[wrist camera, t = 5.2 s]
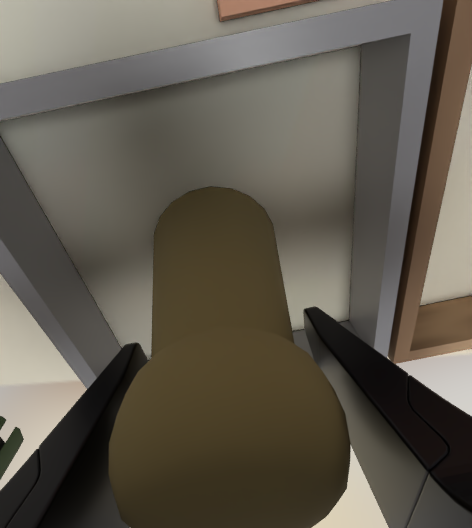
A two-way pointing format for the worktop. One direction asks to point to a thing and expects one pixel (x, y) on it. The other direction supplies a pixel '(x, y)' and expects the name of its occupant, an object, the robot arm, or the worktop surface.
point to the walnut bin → (435, 201)
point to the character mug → (9, 447)
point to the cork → (225, 386)
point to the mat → (252, 7)
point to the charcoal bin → (213, 64)
